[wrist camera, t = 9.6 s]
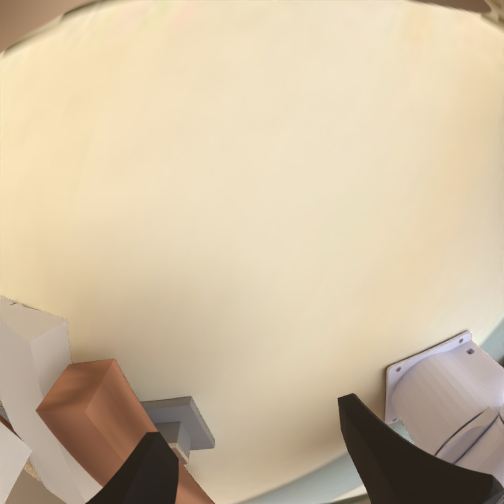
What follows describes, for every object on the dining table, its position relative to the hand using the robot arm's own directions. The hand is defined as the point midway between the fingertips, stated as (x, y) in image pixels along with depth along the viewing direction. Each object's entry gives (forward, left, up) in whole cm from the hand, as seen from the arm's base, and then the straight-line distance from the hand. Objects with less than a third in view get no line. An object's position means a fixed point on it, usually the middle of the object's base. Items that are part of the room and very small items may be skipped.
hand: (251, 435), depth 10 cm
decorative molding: (+26, +10, -11) cm, 30 cm away
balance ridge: (+10, +9, -10) cm, 17 cm away
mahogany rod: (+10, +9, -6) cm, 15 cm away
